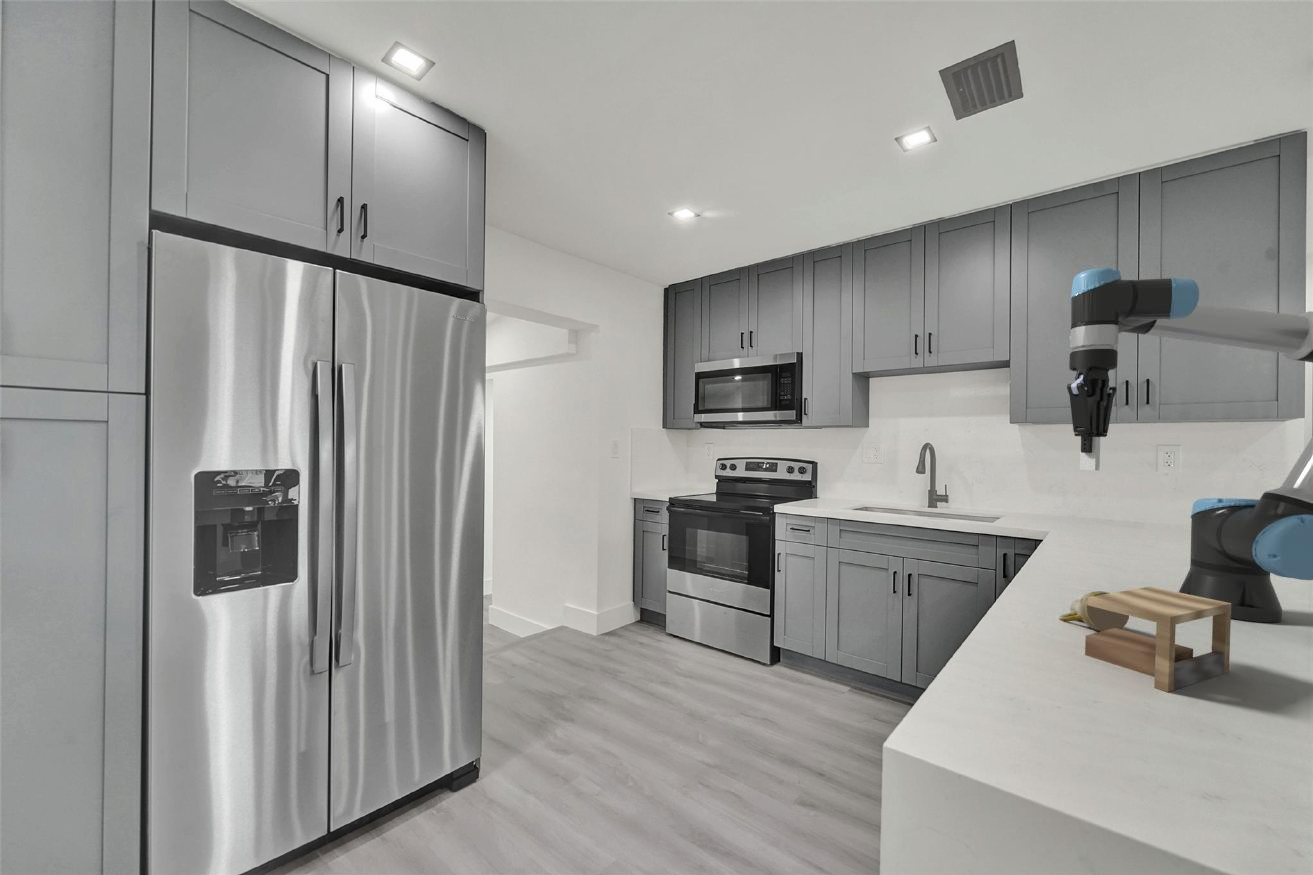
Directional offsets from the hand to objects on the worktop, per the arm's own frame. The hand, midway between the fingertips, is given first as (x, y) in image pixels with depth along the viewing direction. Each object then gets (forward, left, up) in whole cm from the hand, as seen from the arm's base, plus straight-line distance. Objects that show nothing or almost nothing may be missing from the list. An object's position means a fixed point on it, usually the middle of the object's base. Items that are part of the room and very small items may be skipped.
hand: (1089, 469), depth 112 cm
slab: (+20, +18, -29) cm, 39 cm away
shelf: (+20, +20, -28) cm, 40 cm away
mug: (+7, +5, -29) cm, 30 cm away
